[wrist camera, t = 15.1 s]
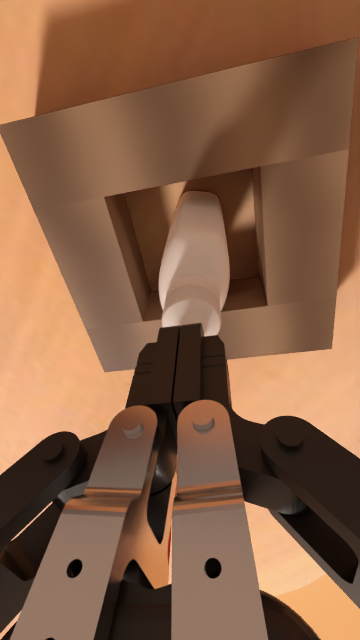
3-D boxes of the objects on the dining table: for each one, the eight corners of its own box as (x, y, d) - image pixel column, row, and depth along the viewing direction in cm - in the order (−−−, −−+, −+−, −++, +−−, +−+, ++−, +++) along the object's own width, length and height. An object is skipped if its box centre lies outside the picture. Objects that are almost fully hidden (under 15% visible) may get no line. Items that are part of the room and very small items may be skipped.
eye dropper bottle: (147, 248, 23) (103, 365, 13) (193, 176, 20) (181, 254, 10) (199, 280, 24) (195, 410, 14) (249, 216, 21) (289, 323, 11)
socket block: (327, 49, 16) (358, 36, 13) (314, 315, 25) (331, 348, 21) (33, 120, 19) (-3, 125, 15) (116, 339, 27) (104, 372, 24)
